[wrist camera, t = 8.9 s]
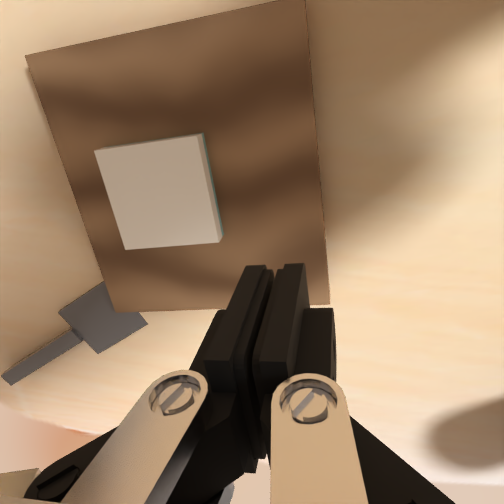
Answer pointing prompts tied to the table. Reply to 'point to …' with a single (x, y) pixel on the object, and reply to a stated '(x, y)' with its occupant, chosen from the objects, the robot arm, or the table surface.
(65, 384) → the table surface
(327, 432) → the robot arm
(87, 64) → the board
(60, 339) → the turner
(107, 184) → the tile
